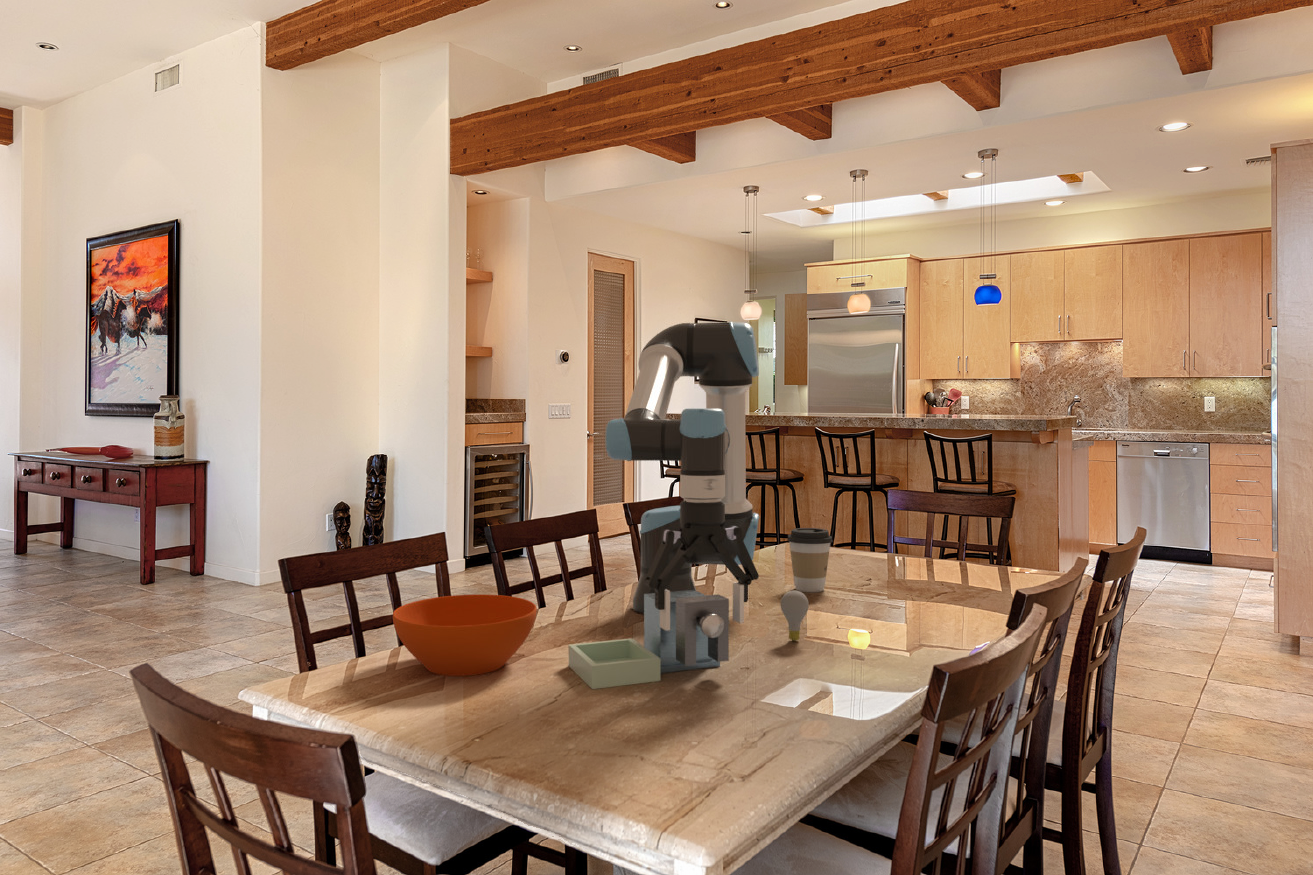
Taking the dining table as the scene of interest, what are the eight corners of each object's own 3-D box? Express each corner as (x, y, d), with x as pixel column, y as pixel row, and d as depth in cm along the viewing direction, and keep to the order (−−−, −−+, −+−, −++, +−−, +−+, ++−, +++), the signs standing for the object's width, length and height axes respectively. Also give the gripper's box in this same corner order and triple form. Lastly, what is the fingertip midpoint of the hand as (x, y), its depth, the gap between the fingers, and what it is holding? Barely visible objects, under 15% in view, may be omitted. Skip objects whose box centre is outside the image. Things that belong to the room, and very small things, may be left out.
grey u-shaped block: (675, 659, 151) (675, 598, 151) (718, 654, 154) (718, 594, 154) (685, 665, 148) (685, 602, 147) (728, 660, 150) (728, 598, 150)
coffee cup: (836, 594, 219) (836, 533, 219) (790, 594, 219) (790, 533, 219) (828, 584, 231) (828, 527, 230) (784, 584, 231) (784, 527, 230)
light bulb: (807, 645, 172) (808, 594, 172) (779, 643, 173) (779, 592, 173) (808, 638, 177) (809, 588, 177) (781, 636, 179) (781, 587, 178)
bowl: (410, 695, 143) (409, 633, 142) (380, 656, 165) (380, 602, 165) (557, 673, 154) (557, 616, 154) (511, 639, 176) (511, 589, 176)
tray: (568, 665, 158) (568, 644, 158) (631, 658, 163) (631, 638, 163) (592, 689, 145) (592, 665, 145) (660, 680, 150) (660, 658, 150)
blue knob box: (637, 658, 163) (637, 593, 163) (696, 651, 168) (697, 588, 167) (679, 690, 145) (680, 617, 144) (745, 682, 149) (746, 611, 149)
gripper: (640, 504, 142) (640, 637, 143) (778, 499, 151) (778, 623, 152) (625, 500, 149) (625, 626, 150) (757, 495, 158) (757, 613, 159)
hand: (702, 625), depth 151 cm, fingers open, 13 cm apart
